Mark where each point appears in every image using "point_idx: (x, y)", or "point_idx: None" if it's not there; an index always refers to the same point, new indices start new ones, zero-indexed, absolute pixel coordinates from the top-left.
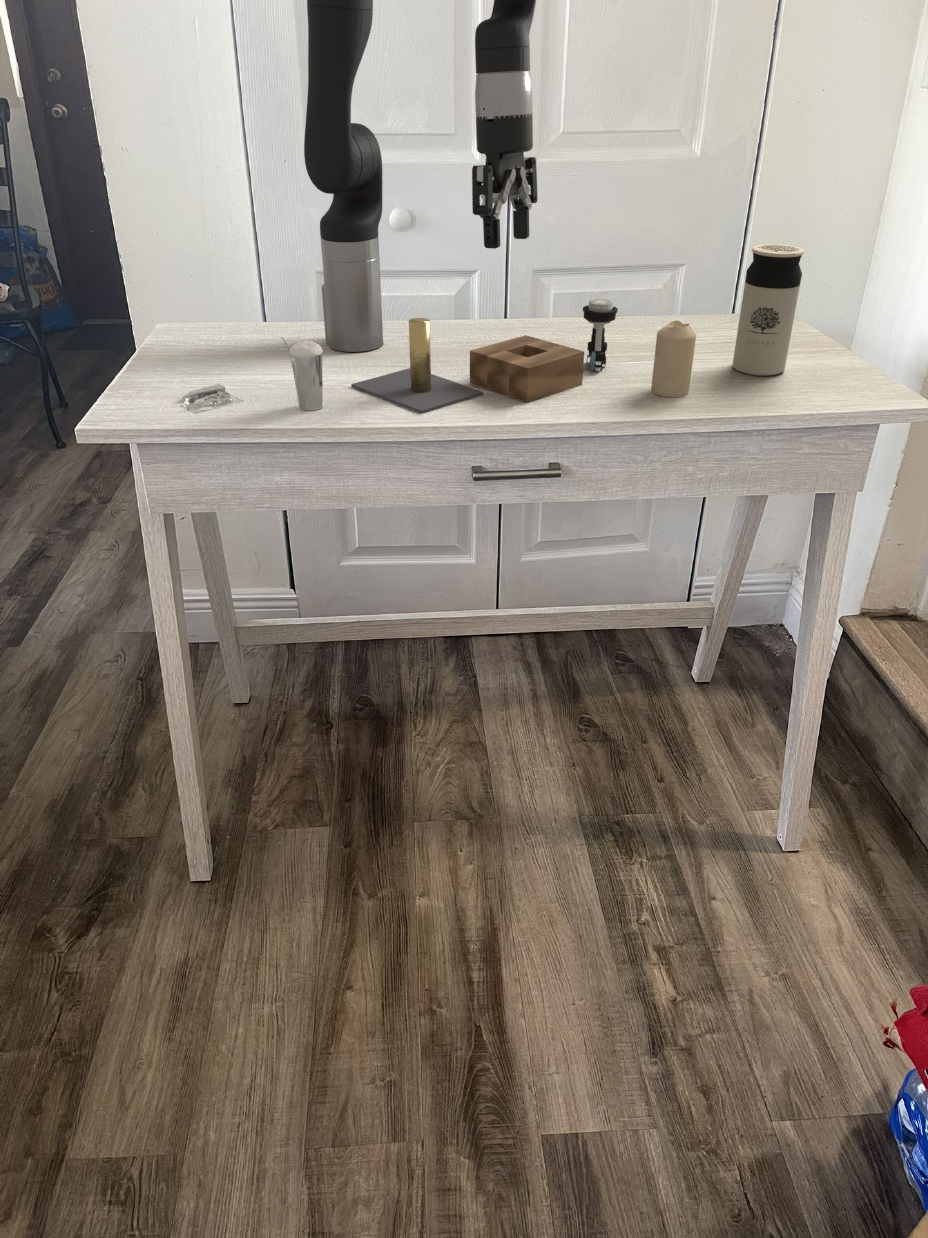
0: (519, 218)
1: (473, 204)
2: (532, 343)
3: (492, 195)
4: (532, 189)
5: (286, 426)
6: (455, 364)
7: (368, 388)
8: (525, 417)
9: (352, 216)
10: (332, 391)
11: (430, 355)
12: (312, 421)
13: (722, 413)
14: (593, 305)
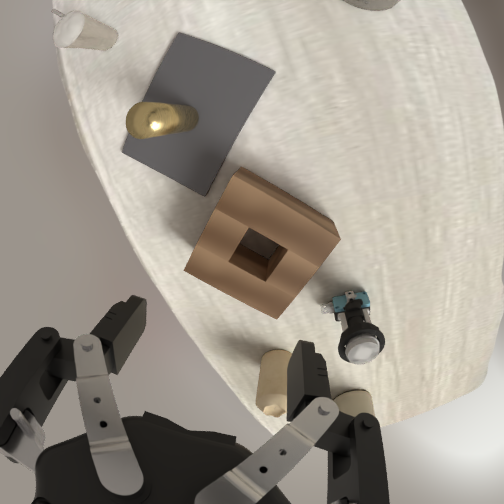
0: (295, 390)
1: (28, 344)
2: (297, 256)
3: (52, 405)
4: (329, 471)
5: (65, 57)
6: (321, 124)
7: (168, 58)
8: (156, 256)
9: None
10: (158, 25)
11: (171, 133)
12: (78, 67)
13: (236, 385)
14: (350, 347)
